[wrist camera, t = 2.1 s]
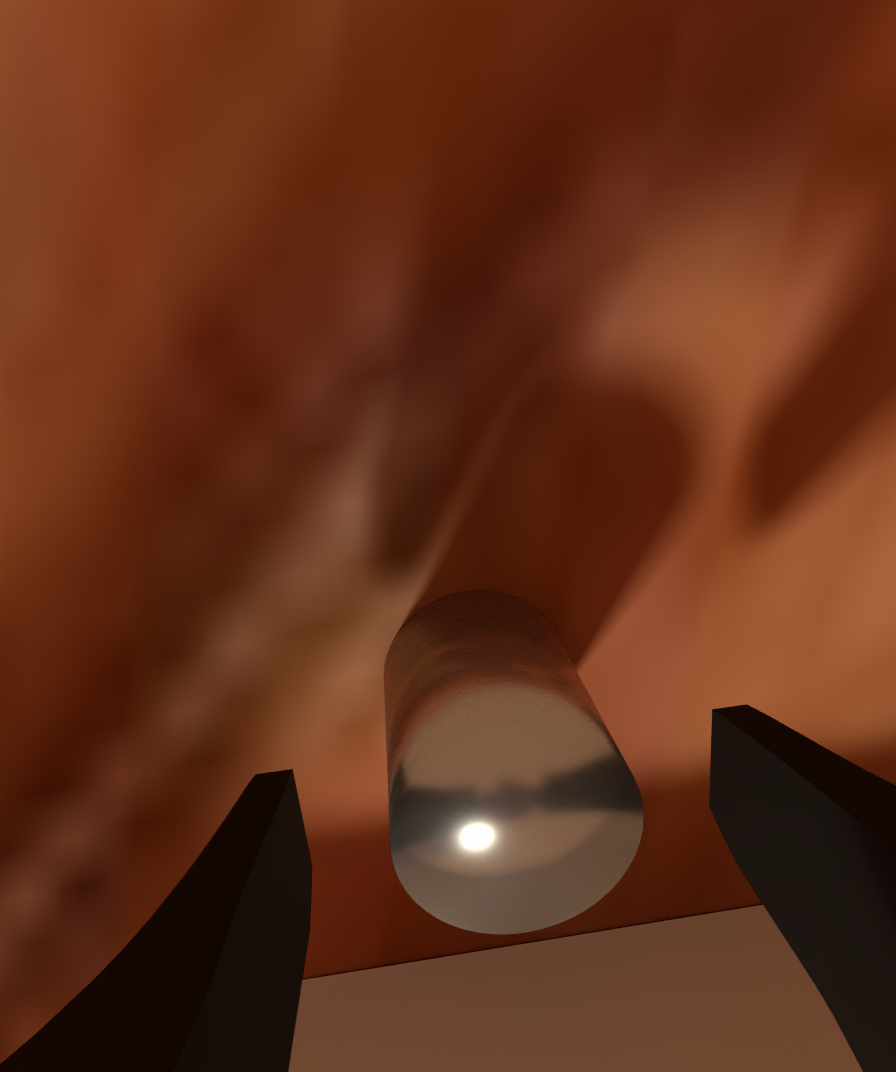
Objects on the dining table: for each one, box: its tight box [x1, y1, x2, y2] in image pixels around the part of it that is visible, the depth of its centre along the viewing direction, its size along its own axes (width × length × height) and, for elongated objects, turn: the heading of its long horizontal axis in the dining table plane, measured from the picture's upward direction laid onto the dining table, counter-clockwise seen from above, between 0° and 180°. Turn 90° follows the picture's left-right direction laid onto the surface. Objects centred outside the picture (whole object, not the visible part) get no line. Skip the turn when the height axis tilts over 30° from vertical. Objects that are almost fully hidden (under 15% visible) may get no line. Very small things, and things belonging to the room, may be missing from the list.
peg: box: [384, 590, 644, 934], centre depth 14 cm, size 4×4×5 cm
